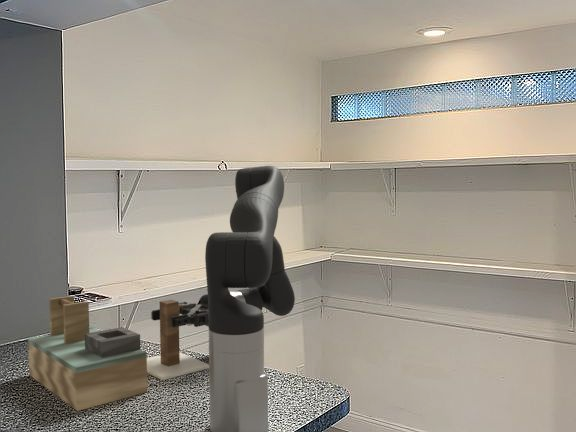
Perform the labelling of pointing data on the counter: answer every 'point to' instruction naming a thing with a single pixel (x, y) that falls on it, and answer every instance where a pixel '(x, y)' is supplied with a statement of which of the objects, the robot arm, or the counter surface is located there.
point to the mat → (174, 367)
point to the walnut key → (169, 333)
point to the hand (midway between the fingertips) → (161, 319)
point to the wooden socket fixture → (86, 358)
